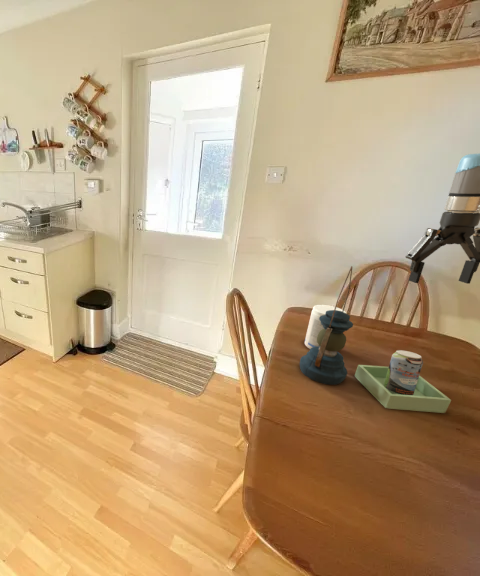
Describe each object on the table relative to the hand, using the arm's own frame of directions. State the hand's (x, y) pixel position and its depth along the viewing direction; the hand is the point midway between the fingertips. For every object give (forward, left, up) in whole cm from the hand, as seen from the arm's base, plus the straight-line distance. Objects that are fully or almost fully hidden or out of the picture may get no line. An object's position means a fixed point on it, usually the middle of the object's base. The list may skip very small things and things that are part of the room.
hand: (438, 282), depth 96 cm
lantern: (+35, +16, -26) cm, 46 cm away
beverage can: (+19, +23, -25) cm, 39 cm away
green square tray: (+19, +23, -26) cm, 39 cm away
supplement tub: (+28, 0, -26) cm, 38 cm away
